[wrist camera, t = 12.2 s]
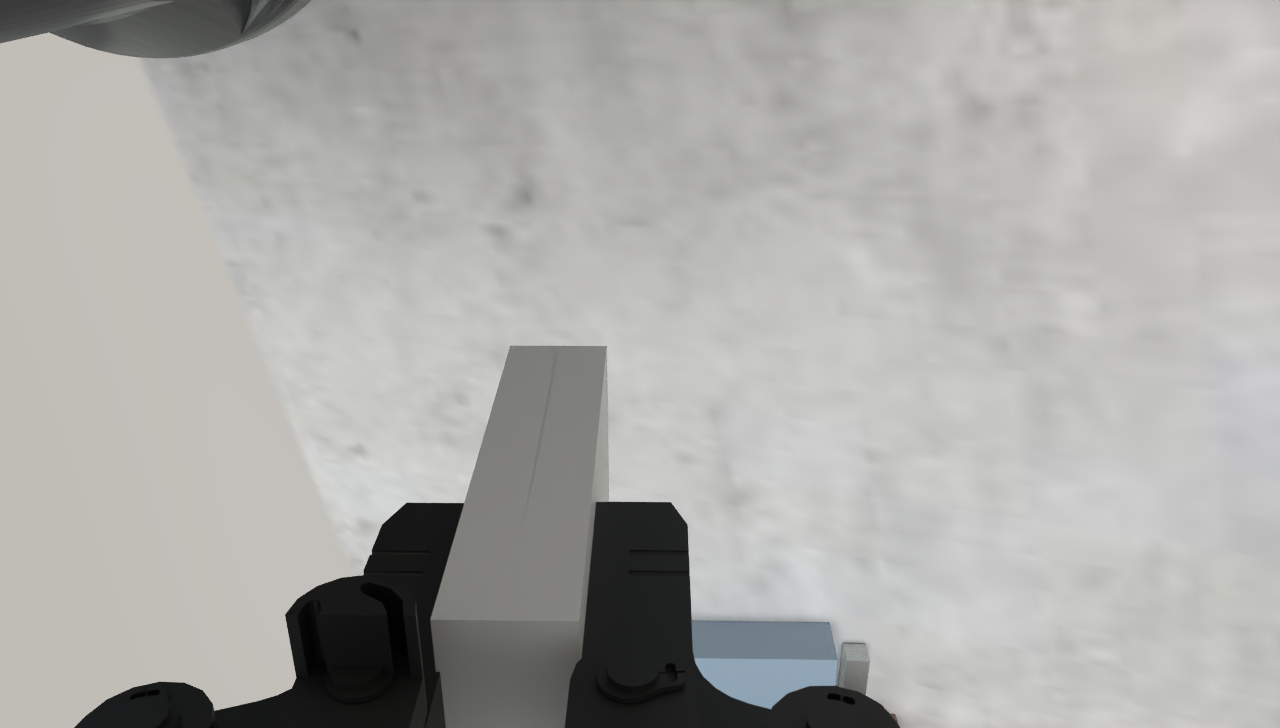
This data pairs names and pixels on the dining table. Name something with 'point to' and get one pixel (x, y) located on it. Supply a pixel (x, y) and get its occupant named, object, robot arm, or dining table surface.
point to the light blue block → (764, 657)
